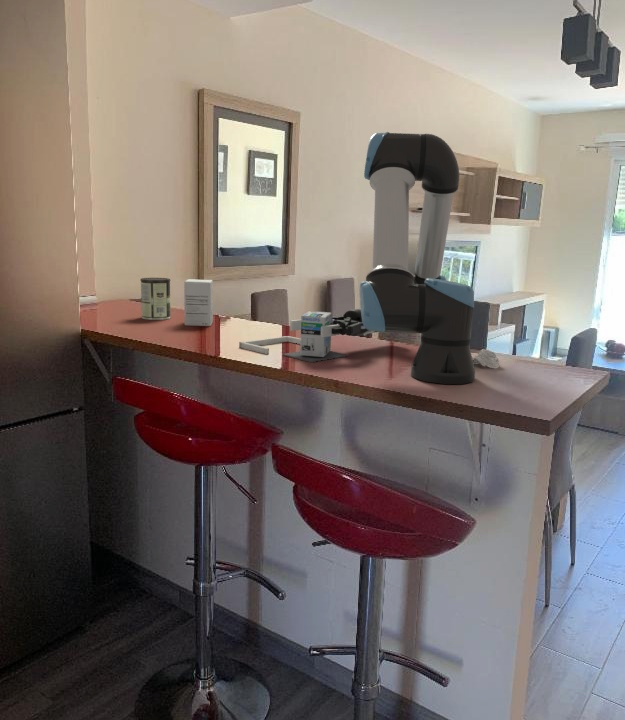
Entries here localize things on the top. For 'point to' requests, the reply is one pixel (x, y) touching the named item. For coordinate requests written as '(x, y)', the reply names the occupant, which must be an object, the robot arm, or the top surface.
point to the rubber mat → (313, 358)
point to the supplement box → (198, 302)
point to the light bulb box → (315, 334)
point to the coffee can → (155, 298)
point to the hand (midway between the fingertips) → (306, 328)
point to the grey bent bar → (255, 343)
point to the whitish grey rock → (487, 359)
